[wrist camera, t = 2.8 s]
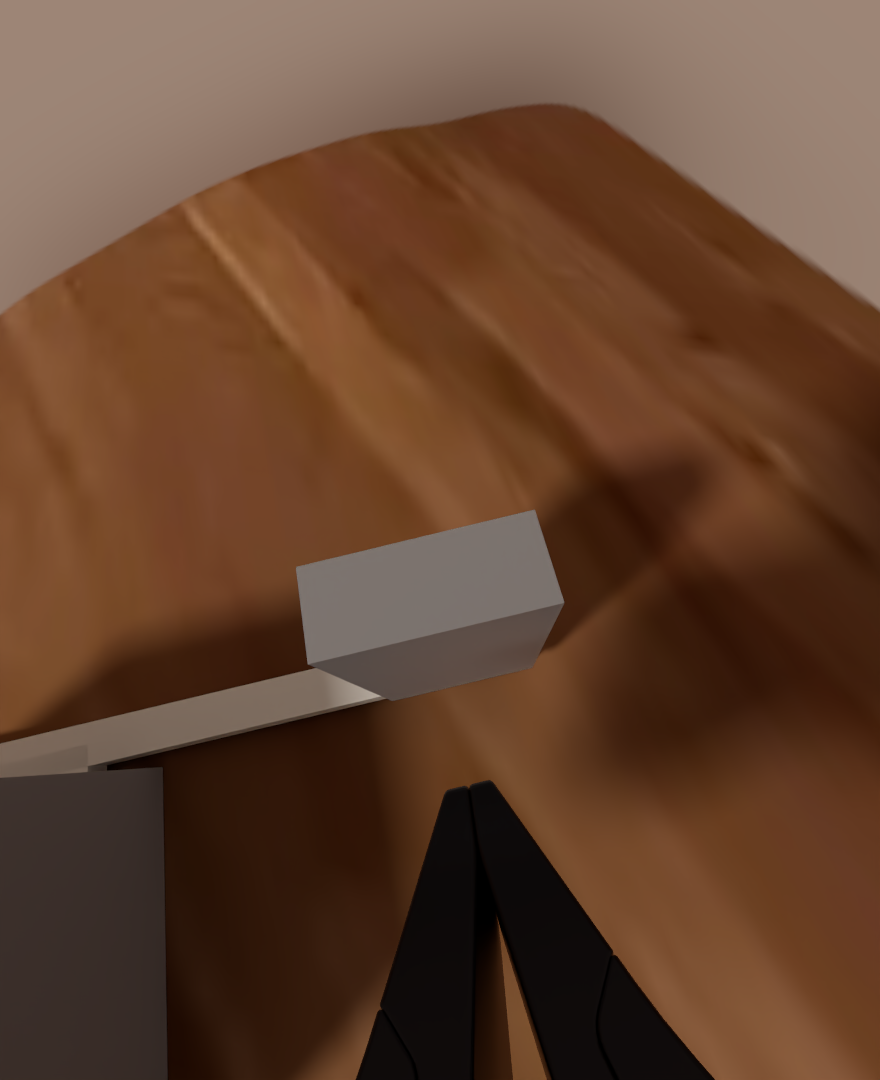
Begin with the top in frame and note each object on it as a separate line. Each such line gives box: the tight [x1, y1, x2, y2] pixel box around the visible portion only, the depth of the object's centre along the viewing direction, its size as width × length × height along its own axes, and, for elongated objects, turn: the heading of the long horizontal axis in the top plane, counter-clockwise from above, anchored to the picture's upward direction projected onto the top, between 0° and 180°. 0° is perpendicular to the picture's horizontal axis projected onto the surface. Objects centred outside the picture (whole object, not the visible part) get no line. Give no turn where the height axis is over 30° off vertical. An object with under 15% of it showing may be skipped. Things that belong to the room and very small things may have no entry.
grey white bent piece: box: [0, 510, 564, 778], centre depth 14 cm, size 9×22×10 cm, turn 102°
